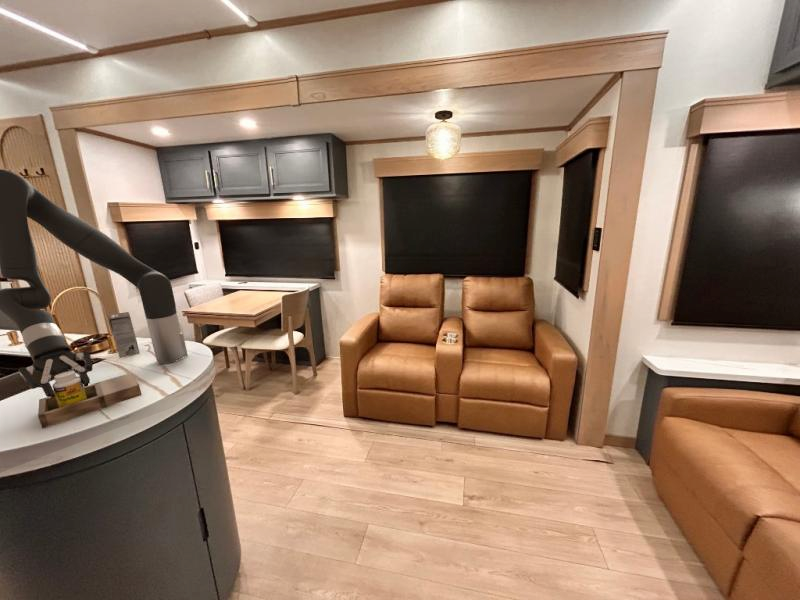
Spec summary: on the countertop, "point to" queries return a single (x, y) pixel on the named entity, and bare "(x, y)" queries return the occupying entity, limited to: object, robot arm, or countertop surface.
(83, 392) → the supplement bottle
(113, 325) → the coffee box
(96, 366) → the countertop surface
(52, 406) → the cup caddy
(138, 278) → the robot arm
